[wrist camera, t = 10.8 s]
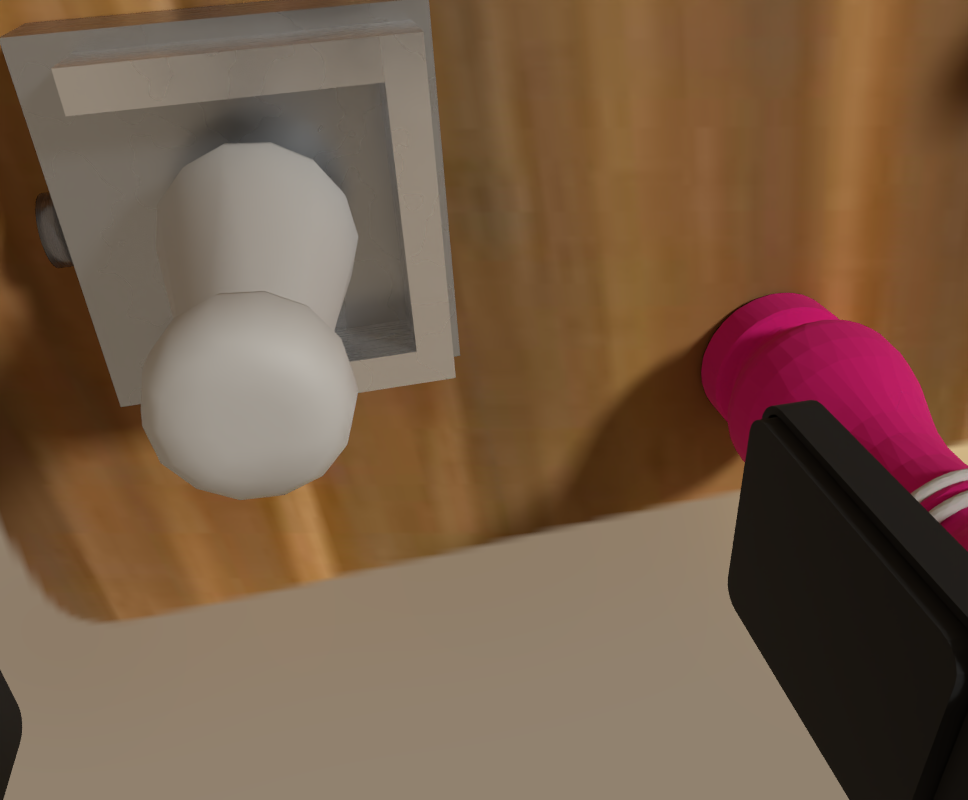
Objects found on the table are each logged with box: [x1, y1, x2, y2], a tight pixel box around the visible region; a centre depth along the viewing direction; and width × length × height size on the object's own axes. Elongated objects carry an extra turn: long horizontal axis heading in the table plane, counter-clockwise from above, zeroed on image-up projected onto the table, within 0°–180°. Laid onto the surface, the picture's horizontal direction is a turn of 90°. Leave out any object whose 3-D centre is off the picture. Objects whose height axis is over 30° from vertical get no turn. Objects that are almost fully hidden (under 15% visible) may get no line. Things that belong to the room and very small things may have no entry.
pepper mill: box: [701, 293, 968, 551], centre depth 30 cm, size 7×7×20 cm
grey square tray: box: [0, 0, 460, 407], centre depth 28 cm, size 12×13×6 cm
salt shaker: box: [141, 142, 358, 500], centre depth 22 cm, size 6×6×13 cm
